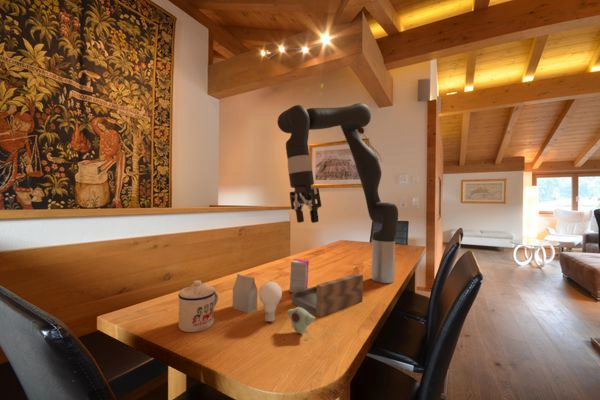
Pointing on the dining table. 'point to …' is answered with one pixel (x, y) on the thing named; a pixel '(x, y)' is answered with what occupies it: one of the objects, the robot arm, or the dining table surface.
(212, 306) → the teacup with lid
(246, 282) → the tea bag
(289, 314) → the pale green triangular piece
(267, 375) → the dining table surface
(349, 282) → the cleat board
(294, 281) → the supplement box
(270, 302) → the lightbulb
